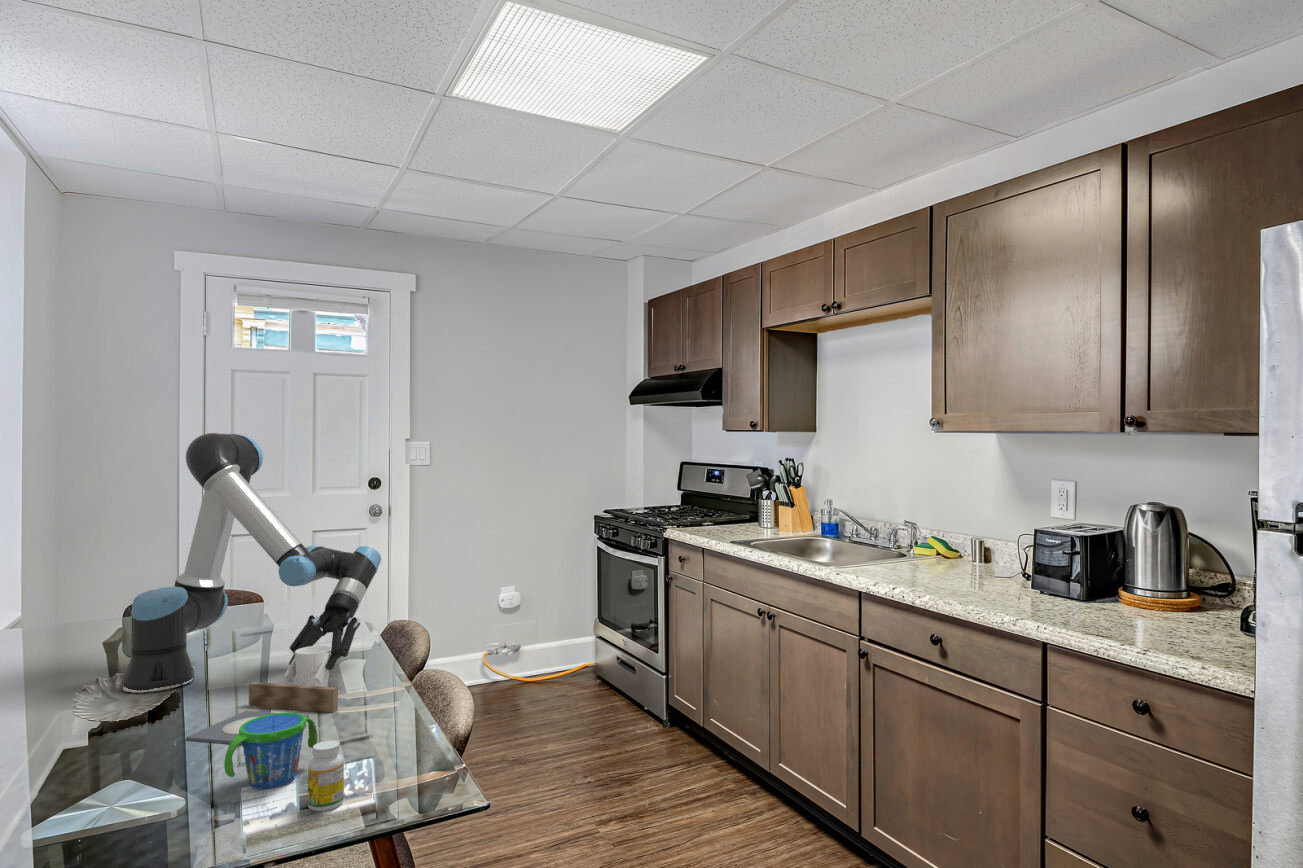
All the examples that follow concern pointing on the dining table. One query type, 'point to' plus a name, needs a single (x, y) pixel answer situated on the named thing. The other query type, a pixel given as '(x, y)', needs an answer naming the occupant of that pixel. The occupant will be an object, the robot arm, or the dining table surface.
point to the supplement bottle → (326, 777)
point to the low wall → (293, 697)
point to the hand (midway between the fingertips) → (303, 680)
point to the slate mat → (226, 728)
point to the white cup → (310, 665)
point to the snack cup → (271, 748)
